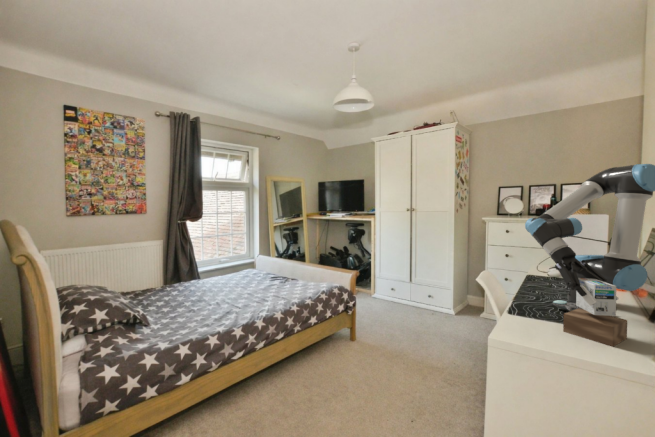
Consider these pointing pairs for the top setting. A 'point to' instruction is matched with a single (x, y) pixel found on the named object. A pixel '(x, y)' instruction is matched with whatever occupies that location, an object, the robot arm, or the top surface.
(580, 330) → the walnut block
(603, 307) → the light bulb box
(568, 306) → the toy aircraft
